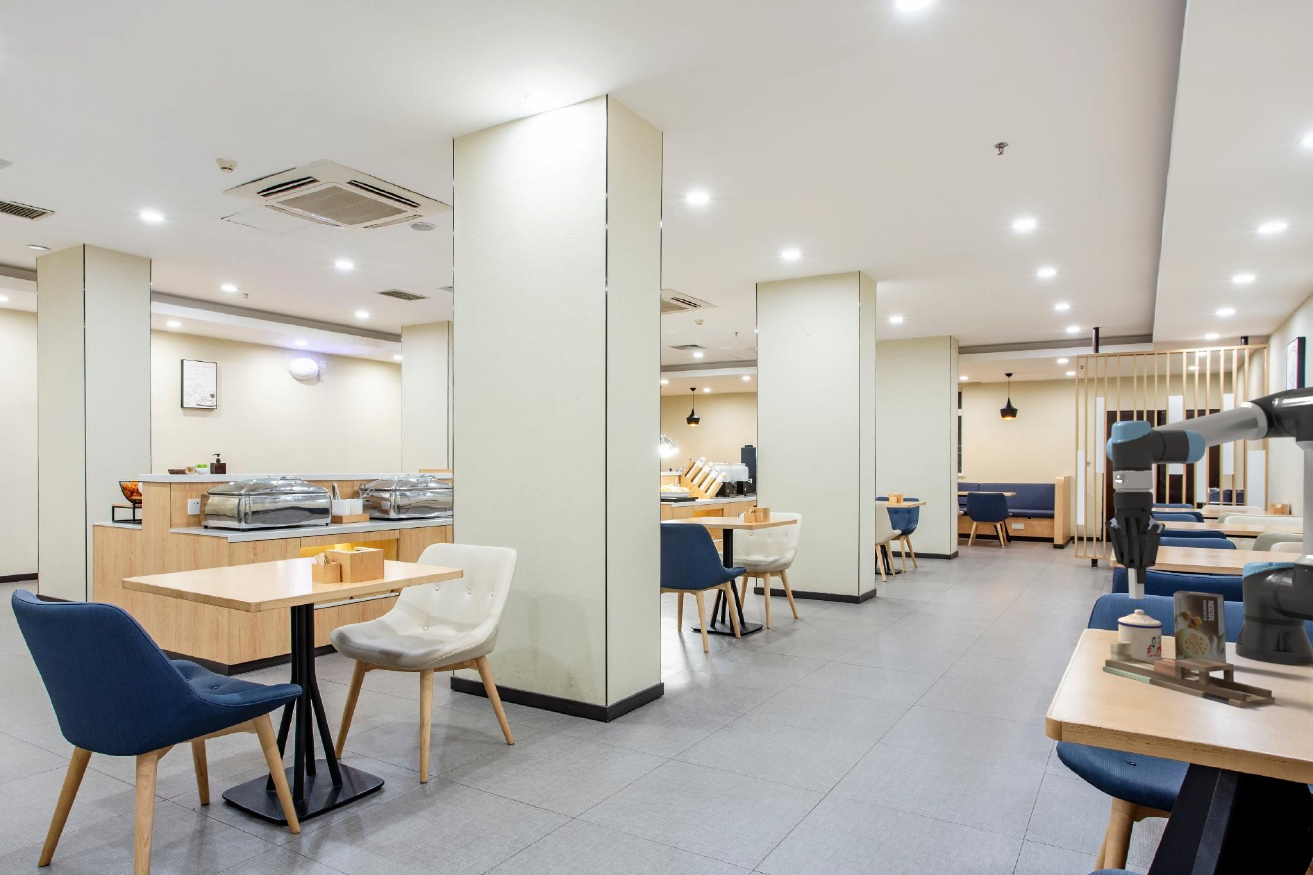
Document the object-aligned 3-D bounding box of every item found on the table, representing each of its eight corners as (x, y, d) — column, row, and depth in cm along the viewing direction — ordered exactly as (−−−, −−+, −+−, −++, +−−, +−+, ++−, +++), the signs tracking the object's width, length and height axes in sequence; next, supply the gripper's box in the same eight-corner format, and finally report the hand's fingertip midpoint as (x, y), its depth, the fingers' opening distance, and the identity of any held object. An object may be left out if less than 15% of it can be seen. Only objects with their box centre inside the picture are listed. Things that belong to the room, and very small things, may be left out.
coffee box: (1227, 664, 184) (1226, 594, 184) (1220, 668, 179) (1219, 597, 180) (1181, 657, 190) (1180, 589, 191) (1173, 661, 186) (1172, 592, 187)
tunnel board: (1135, 667, 179) (1134, 641, 179) (1274, 702, 152) (1274, 672, 152) (1102, 671, 175) (1102, 644, 175) (1239, 707, 148) (1239, 676, 148)
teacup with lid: (1155, 666, 180) (1155, 614, 181) (1112, 659, 187) (1111, 609, 188) (1171, 658, 188) (1171, 609, 189) (1129, 652, 195) (1128, 604, 196)
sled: (1125, 662, 178) (1124, 641, 178) (1208, 683, 161) (1208, 659, 161) (1110, 664, 176) (1110, 642, 177) (1193, 685, 159) (1193, 661, 159)
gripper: (1094, 490, 180) (1098, 595, 179) (1148, 491, 168) (1152, 603, 166) (1118, 490, 182) (1122, 593, 181) (1173, 491, 170) (1177, 601, 169)
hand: (1136, 598), depth 174 cm, fingers closed
